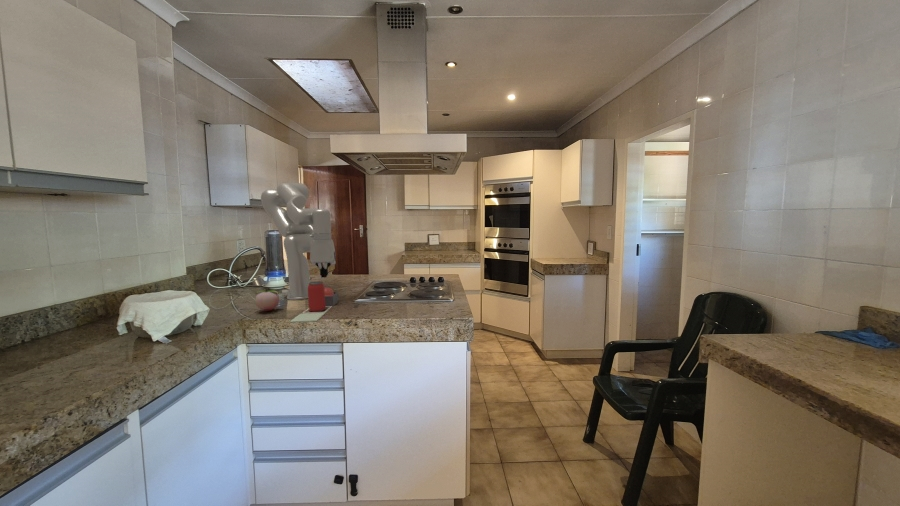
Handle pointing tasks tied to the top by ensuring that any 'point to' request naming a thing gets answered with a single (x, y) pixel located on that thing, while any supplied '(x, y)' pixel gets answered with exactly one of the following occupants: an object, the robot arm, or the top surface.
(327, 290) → the dome
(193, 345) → the top surface
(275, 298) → the decorative fruit
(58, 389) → the top surface
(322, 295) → the beer can
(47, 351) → the top surface
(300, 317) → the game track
